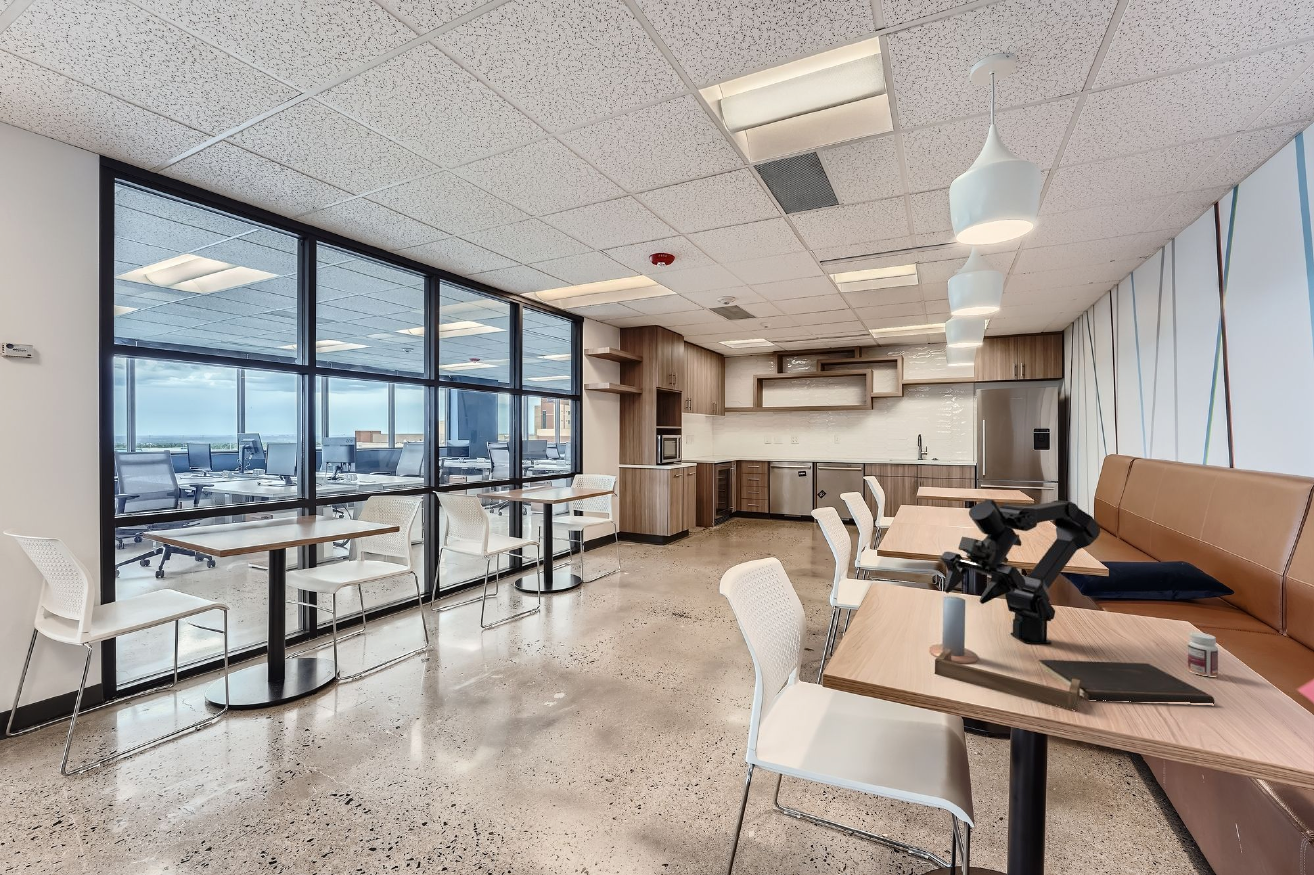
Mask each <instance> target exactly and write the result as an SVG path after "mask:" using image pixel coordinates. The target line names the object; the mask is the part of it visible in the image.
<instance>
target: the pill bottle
mask: <svg viewBox="0 0 1314 875" xmlns="http://www.w3.org/2000/svg"><path fill="white" fill-rule="evenodd" d="M1189 637H1190V641H1188V642H1187V670H1188V672H1190V671H1192V672H1194V673H1198V674H1200V675H1207V676H1217V677H1218V675H1219V673H1218V672H1219V648H1218V646H1216V645H1217V644H1216V643H1217V640H1216V639H1217V637H1215V636H1214V635H1211V634H1209V633H1204V632H1190V636H1189Z"/></svg>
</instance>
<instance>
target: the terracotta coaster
mask: <svg viewBox="0 0 1314 875" xmlns="http://www.w3.org/2000/svg"><path fill="white" fill-rule="evenodd" d="M928 651H929V654H931V656H933V657H934V658H937V657H938V656H939V655H940V654H941V653H942V652H943V651H942V644H939V643H938V644H934V645H933V644H932V645H931V646H929V650H928ZM978 660H979V658H978V655H977V653H975V652H974V651H973V650H971V649H968V648H965V653H964V656H952V655H951V662H954V663H958V664H962V665H966V664H974V663H977V661H978Z"/></svg>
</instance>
